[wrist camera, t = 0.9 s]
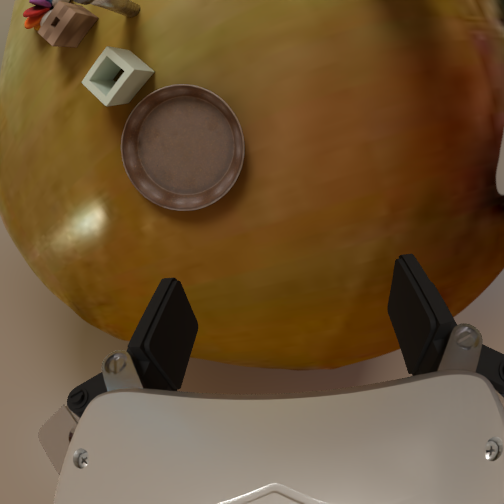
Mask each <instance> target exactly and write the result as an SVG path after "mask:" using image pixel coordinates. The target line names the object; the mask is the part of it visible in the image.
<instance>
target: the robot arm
mask: <svg viewBox="0 0 504 504" xmlns="http://www.w3.org/2000/svg"><path fill="white" fill-rule="evenodd" d="M388 314H389V317H390V319H391V322H392V325H393V328H394V330H395V333H396V336H397V339H398V342H399V345H400V348H401V351H402V354H403V357H404V360H405V364H406V367H407V370H408V373H409V374H412V375H413V376H411V377H407V378H402V379H397V380H391V381H386V382H380V383H375V384H369V385H363V386H356V387H349V388H341V389H333V390H324V391H313V392H301V393H284V394H210V393H194V392H180V391H177V389H180V388H181V385H182V382H183V378H184V375H185V371H186V368H187V365H188V361H189V358H190V354H191V351H192V348H193V344H194V341H195V338H196V334H197V331H198V322H197V320H196V318H195V315H194V313H193V311H192V308H191V306H190V304H189V301H188V299H187V297H186V294H185V292H184V289H183V287H182V284H181V282H180V281H177V279H176V278H164V279H162V280H161V282H160V284H159V286H158V287H157V289H156V291H155V293H154V295H153V297H152V299H151V301H150V302H149V304H148V306H147V308H146V310H145V312H144V314H143V316H142V318H141V320H140V322H139V324H138V326H137V328H136V330H135V332H134V334H133V336H132V338H131V340H130V342H129V345H128V349H127V351H124V350H117V351H114V352H112V353H110V354H109V355H108V356H107V357H106V358H105V359H104V361H103V363H102V372H101V373H100V374H98V375H96V376H94V377H93V378H91V379H89V380H88V381H86V382H84V383H83V384H81V385H79V386H77V387H76V388H74V389H73V390H72V391H71V392H70V394H69V396H68V399H67V406H65V405H63V406H62V407H61V408H60V409H59V410H58V411H57V412H56V413H55V414H54V415H53V416H52V417H51V418H50V419H49V420H48V421H47V422H46V423H45V424H44V425H42V427H41V428H40V431H39V440H40V443H41V444H42V446H43V448H44V450H45V452H46V454H47V455H48V457H49V459H50V461H51V462H52V464H53V466H54V467H55V469H56V471H57V472H58V474H59V475H60V476H59V480H58V485H57V489H56V493H55V498H54V503H53V504H504V354H502V353H500V352H497V351H495V350H493V349H491V348H489V347H487V346H485V345H483V344H482V336H481V333H480V332H479V331H478V329H476V328H475V327H474V326H472V325H470V324H459V325H457V324H456V322H455V320H454V318H453V317H452V315H451V313H450V311H449V309H448V307H447V306H446V304H445V302H444V300H443V299H442V297H441V295H440V294H439V292H438V290H437V288H436V287H435V285H434V284H433V283H432V282H431V281H430V280H429V278H428V277H427V275H426V273H425V272H424V270H423V269H422V267H421V266H420V264H419V263H418V261H417V260H416V258H415V257H414V255H413V254H406V255H400V256H399V259H396V260H395V266H394V273H393V279H392V285H391V291H390V296H389V302H388Z"/></svg>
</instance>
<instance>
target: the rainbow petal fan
mask: <svg viewBox="0 0 504 504" xmlns="http://www.w3.org/2000/svg"><path fill="white" fill-rule="evenodd" d="M58 1H63V2H67V3H68V2H69V1H70V0H30V1H29V2H30V3H32V4H34V5H36V6H34V7H31V8H29V9H27V10H26V11H25V12H24V13H23V16H24V17H27V20H26V21H25V28H26V29H30V28H33V27H34V29H35V30H39V29H40V28H41V26H42V25H43V23H44V21H45V20H46V18H47V17H48V15H49V14H50V13H51V11H52V10H53V9H52V10H50V8H51V7H52V6H53V7H55V5H56V4H57V3H58Z"/></svg>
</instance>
